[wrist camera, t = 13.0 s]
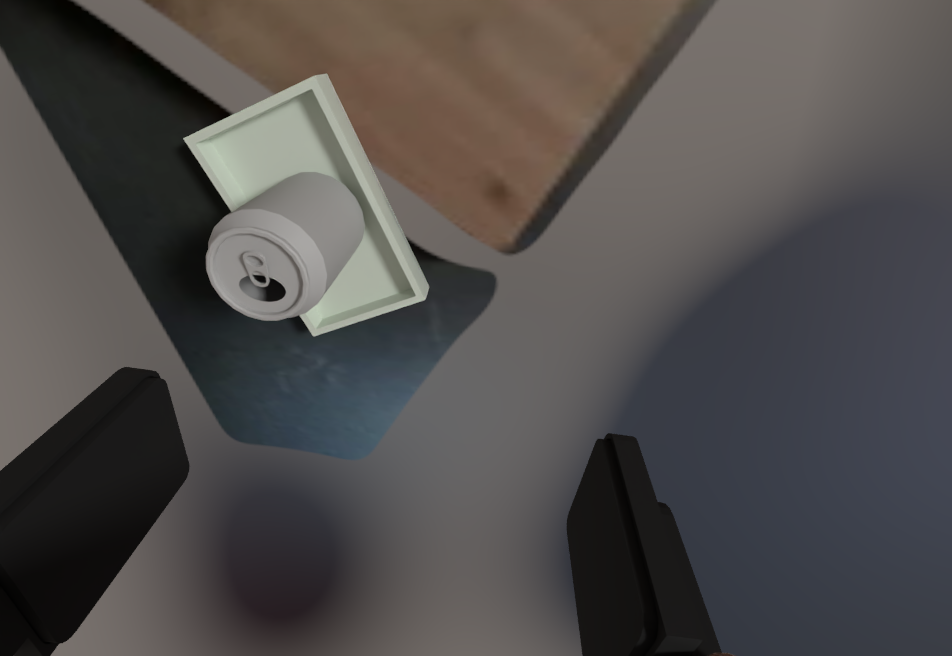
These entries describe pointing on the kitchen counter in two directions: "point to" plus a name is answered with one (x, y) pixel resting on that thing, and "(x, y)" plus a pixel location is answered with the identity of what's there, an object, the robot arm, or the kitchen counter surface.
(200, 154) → the tray
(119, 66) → the kitchen counter surface
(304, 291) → the can
